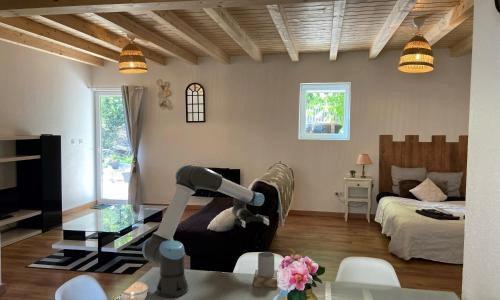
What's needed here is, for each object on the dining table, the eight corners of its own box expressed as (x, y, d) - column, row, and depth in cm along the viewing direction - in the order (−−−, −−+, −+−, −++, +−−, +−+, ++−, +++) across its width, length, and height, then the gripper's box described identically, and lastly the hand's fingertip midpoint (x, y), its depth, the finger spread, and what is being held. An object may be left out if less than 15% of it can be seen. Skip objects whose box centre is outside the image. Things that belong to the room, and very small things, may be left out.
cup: (274, 271, 195) (274, 252, 194) (274, 277, 187) (274, 257, 186) (258, 270, 196) (258, 251, 195) (257, 276, 187) (257, 257, 187)
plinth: (253, 286, 186) (253, 277, 186) (255, 277, 198) (255, 269, 198) (277, 287, 185) (277, 278, 184) (278, 277, 197) (278, 269, 196)
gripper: (264, 220, 224) (277, 228, 204) (224, 223, 216) (234, 232, 196) (264, 207, 223) (278, 215, 203) (224, 210, 215) (234, 218, 195)
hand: (256, 223), depth 199 cm, fingers open, 13 cm apart
